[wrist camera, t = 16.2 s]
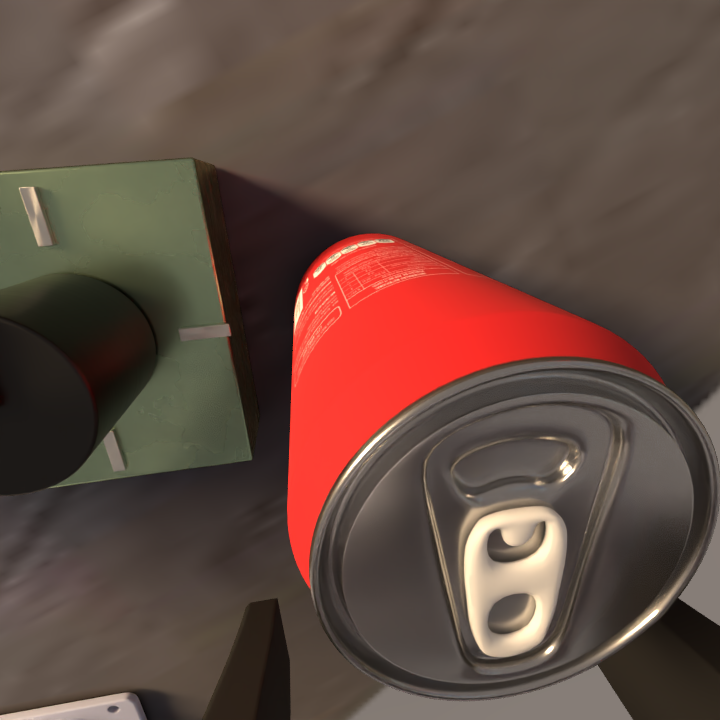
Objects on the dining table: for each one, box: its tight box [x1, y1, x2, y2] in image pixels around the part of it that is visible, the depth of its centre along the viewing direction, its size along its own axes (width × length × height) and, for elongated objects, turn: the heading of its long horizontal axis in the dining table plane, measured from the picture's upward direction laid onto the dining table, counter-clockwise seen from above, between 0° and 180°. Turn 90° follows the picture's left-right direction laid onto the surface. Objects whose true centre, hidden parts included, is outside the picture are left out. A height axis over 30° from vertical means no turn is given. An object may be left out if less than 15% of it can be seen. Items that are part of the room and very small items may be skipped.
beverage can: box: [287, 234, 720, 701], centre depth 10 cm, size 5×5×12 cm
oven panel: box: [0, 158, 260, 488], centre depth 13 cm, size 10×9×3 cm
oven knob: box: [0, 274, 156, 496], centre depth 10 cm, size 4×4×4 cm
